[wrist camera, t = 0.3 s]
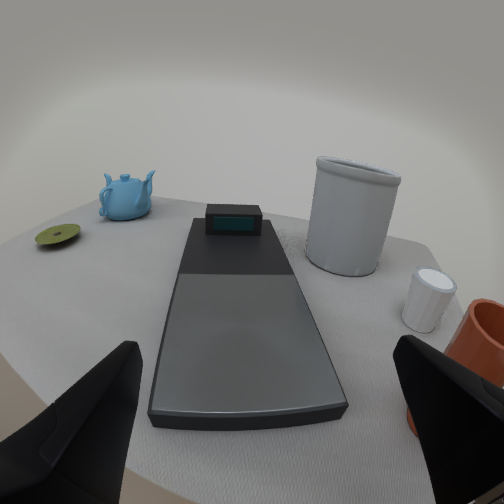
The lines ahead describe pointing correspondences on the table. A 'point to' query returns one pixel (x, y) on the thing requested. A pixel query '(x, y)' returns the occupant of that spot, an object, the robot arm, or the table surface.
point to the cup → (479, 343)
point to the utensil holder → (350, 215)
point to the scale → (240, 335)
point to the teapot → (126, 197)
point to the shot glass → (427, 298)
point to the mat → (57, 234)
